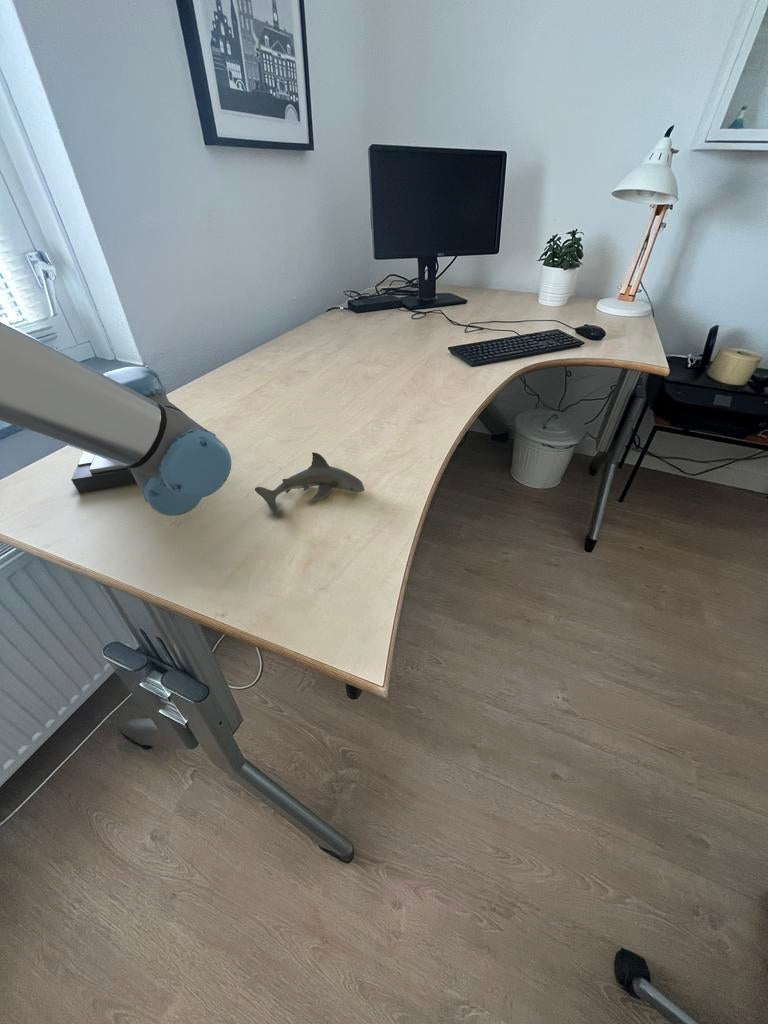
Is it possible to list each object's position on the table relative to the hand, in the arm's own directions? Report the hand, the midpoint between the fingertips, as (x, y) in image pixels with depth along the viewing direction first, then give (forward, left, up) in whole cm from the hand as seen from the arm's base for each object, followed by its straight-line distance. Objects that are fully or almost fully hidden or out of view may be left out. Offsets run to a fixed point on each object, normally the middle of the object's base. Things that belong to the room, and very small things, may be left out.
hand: (114, 401), depth 83 cm
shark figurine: (+34, -27, -11) cm, 45 cm away
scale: (+2, -5, -11) cm, 12 cm away
